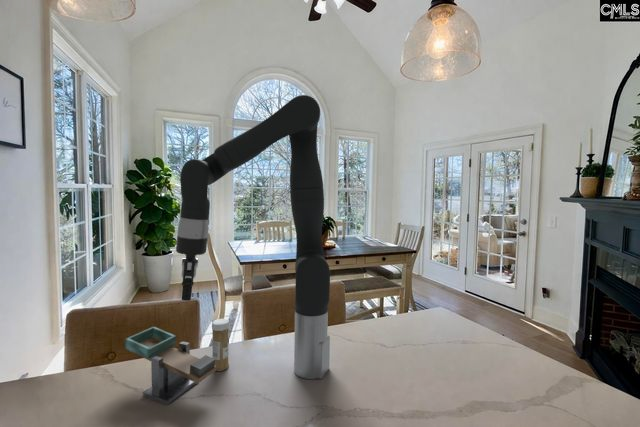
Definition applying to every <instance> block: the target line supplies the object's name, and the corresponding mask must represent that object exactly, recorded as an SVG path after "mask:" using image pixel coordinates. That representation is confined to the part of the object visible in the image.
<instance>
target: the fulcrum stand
mask: <svg viewBox="0 0 640 427" xmlns="http://www.w3.org/2000/svg"><path fill="white" fill-rule="evenodd" d="M190 346H191V345H190V342H186V341H181V342H179V343H178V349H179V350H181V351H183V352H185V353H188V354H190V353H191V352H190V349H191V347H190ZM190 355H191V354H190ZM150 362H151V368H150V369H151V386H150V387H149V388H147V389H146V390H144V391H142V397H143V398H146V399H150V400H151V401H155V402H158V403H161V404H163V405H166V406H168V405H170V404H171V403H173V402H174V401H175V400H176V399H178V398H180V396H182V395H183V394H185V392H187V391H189V390H190V389H191V388H192V387H194V386H195V385H197V383H195V382H193V381H191V380H189V379H187V378H185V377H183V376H181V375H179V374H176V373H174V372H172V371H170V370H168V369H166V368H164V367H163V358H161V357H157V356H155V357H153V358H151V361H150Z"/></svg>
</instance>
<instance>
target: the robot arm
mask: <svg viewBox="0 0 640 427" xmlns="http://www.w3.org/2000/svg"><path fill="white" fill-rule="evenodd" d="M320 116H321V107H320V105H319V103H318V101H317V100H316V99H315V98H313V97H312V96H311V95H307V94H299V95H295V96H294V97H293V98H292V99H290V100H289V101H287V103H285V104H284V105H282V107H280V108H279V109H277V111H275V112H274V113H273V114H271V115H270V116H268V117H266V119H264V120H263V121H260V122H259V123H258V124H256V125H255V126H252V127H251V128H249V129H248V130H246V131H243V132H242V133H241V134H238V135H236V136H235V137H233V138H231V139H229V140H227V141H226V142H224V143H222V144H221V145H219V146H217V147H216V148H215V150H214V151H213V152H212V153H211V154H210V155H207V156H206V157H205V158H203V159H199V158H191V159H189V160H187V161H186V162H185V163H184V164H183V165H182V167H181V171H180V181H179V182H180V193H181V199H182V200H181V205H180V206H181V208H180V215H179V216H180V217H179V222H178V225H177V236H176V247H175V252H176V253H178V254H180V255H185V258H184V257H182V261H181V269H182V270H181V278H182V282H181V285H182V291H181V292H182V293H181V301H191V298H192V291H193V286H194V279H195V278H196V276H197V269H198V265H199V258H196V257H197V256H201V255H204V254H205V253H206V252H207V249H208V248H207V247H208V246H207V245H208V238H209V217H210V208H211V206H210V205H211V204H210V199H209V197H208V194H209V192H208V191H209V186H211V185H212V184H214V183H215V182H217V181H219V180H220V179H221V178H224V176H225V175H227V174H228V173H230V172H231V171H233V170H236V169H237V168H239V167H241V166H242V165H243V166H244V164H246V163H249V162H250V161H252V160H253V159H254V158H256V157H257V156H259V155H260V154H262V152H264V151H265V150H267V149H268V148H269V147H271V146H273V144H275V143H277V142H279V141H280V140H282V139H284V138H286V137H288V138H289V145H290V152H291V156H290V168H289V169H290V170H289V171H290V172H289V192H290V193H289V194H290V206H291V212H292V219H293V223H294V224H293V225H294V228H295V236H296V237H295V238H296V252H295V254H296V255H295V264H294V265H295V268H294V270H295V294H294V297H295V298H294V347H293V348H294V351H293V352H294V355H293V357H294V360H293V362H294V363H293V367H294V368H293V369H294V370H293V371H294V373H295V375H297V377H299V378H302V379H307V380H315V379H320V380H322V379H323V378H324V377H325V375H326V373H327V372H328V371H329V369H330V355H331V354H330V350H331V348H330V347H331V343H330V342H331V336H330V335H328V329H329V328H328V327H329V326H328V324H329V321H328V318H329V317H328V316H329V314H328V313H329V303H330V295H331V294H330V291H331V290H330V289H331V288H330V287H331V269H330V266H329V264H328V262H327V260H326V257H325V253H324V252H325V251H324V245H323V237H322V236H323V234H322V231H323V223H324V213H325V194H324V192H325V191H324V180H323V174H322V170H321V165H320V161H319V156H318V155H319V154H318V146H317V142H318V127H319V126H318V125H319V121H320V119H321V117H320Z"/></svg>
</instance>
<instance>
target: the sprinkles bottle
mask: <svg viewBox="0 0 640 427" xmlns="http://www.w3.org/2000/svg"><path fill="white" fill-rule="evenodd" d="M229 328H230V321H229V320H228V319H227V318H218V319H215V320H212V322H211V329H212V339H211V340H212V341H211V342H212V358H214V359H215V366H216V371H215V372H221V371H225V370H227V369H228V368H229V367H230V364H229Z"/></svg>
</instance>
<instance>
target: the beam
mask: <svg viewBox="0 0 640 427" xmlns="http://www.w3.org/2000/svg"><path fill="white" fill-rule="evenodd" d="M176 338H177V335H175V334H173V333H170V332H167V331H166V330H164V329H161V328H158V327H156V326H152V327H150V328H147V329H144V330H142V331H140V332H138V333H136V334H134V335H131V336H129V337H128V336H127V337H126V338H125V341H124V349H126V350H127V351H128V352H130V353H133V354H135V355H137V356H139V357H141V358H143V359H146V360H147V361H149V362H151V358H153V357H155V356H157V357H161V358H163V367H164V368H166V369H168V370H170V371H172V372H174V373H176V374H179V375H181V376H183V377H185V378H187V379H189V380H191V381H193V382H195V383H197V384H200V383H201V382H203V381H204V380H206V379H207V378H208V377H209V376H211V375H212V374H213V373H215V372H217V371H216V366H215V359H214V358H213V357H211V356H209V355H206V354H205V355H203V356H202V357H200V358H199V357H197V356H195V355H193V354H188V353H185V352H183V351H181V350H179V348H177V347H174V346H176ZM197 384H196V385H197Z"/></svg>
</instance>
